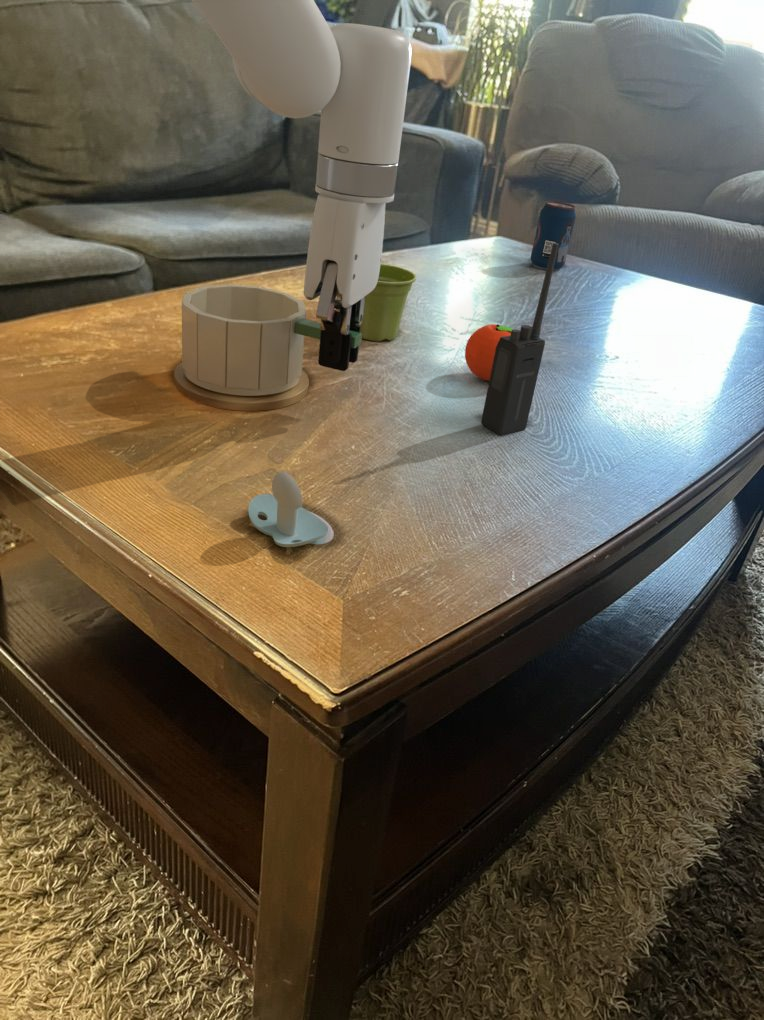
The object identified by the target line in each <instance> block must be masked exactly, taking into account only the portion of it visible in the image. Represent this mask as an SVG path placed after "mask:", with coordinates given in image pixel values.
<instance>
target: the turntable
mask: <svg viewBox="0 0 764 1020" xmlns="http://www.w3.org/2000/svg"><path fill="white" fill-rule="evenodd" d="M173 381H174V382H173V383H174V385H175V387H176V389H177V390H178V391H179V393H180V394H182V395H183V396H185V397H186V398H188V399H190V400H192V401H194V402H196V403H199V404H202V405H205V406H209V407H213V408H216V409H222V410H229V411H238V412H239V411H241V412H260V411H271V410H272V411H273V410H277V409H282V408H286V407H289V406H291V405H294V404H296V403H298V402H300V401H301V400H302V399H304V398H305V397H306V396H307V394H308V393H309V384H310V379H309V376H308V374H307V372H306V371H305V370H303V369H302V374H301V376H300V380H299V382H298V383H297V384H296V385H295V386H294V387H292V388H290V389H288V390H286V391H283V392H280V393H275V394H270V395H260V396H241V395H231V394H224V393H219V392H215V391H211V390H208V389H205V388H202V387H200V386H198V385H196V384H194V383H193V382H191V381H190V380H189V379H188V378H187V377H186V376H185V374H184V371H183V367H182V361H181V362H179V363H178V364H177V366H176V367H175V368H174V372H173Z"/></svg>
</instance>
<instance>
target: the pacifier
mask: <svg viewBox="0 0 764 1020" xmlns="http://www.w3.org/2000/svg"><path fill="white" fill-rule="evenodd" d="M271 490H272V493H263V494H262V493H261V494H259V495H255V497H253V498H252V499H251V500H250V502H249V504H248V508H247V509H248V518H249V521H250V522H251V525H253V527H254V528H255V529H257V530H258V531H259V532H261V533H263V534H264V535H266V536H270V537H271V538H272V539H273V542H274V543H275V545H276V546H279V547H280V548H281V547H282V548H295V547H301V546H305V545H308V544H309V545H323V544H327V543H330V542H331V541H332V540H333V538H334V537H335V536H334V534H335V532H334V529H333V527H332V526H331V525H330V523H329V522H328V521H326V519H324V518H323V517H321V516H319V515H317V514H316V513H314V512H312V511H309V510H308V509H306V508H305V507H303V503H304V500H303V494H302V491H301V489H300V487H299V485H298V483H297V482H296V480H295V479H294V478H293V476H292V475H290V474H289V473H288V472H286V471H284V470H283V471H279V472H277V473H276V474H275V475H274V477H273V479H272V483H271ZM259 516H263V517H265V518H266V519H265V520H264V519H261V518H260V517H259Z"/></svg>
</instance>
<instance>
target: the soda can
mask: <svg viewBox="0 0 764 1020" xmlns="http://www.w3.org/2000/svg"><path fill="white" fill-rule="evenodd" d="M576 219H577V215H576V206H575V205H574V204H571V203H567V202H562V201H553V200H547V201H545V204H544V205H543V206H542V208H541V209H540V212H539V216H538V221H537V225H536V231H535V235H534V239H533V244H532V248H531V253H530V261H531V264H532V267H534V268H536V269H540V270H545V271H546V270H547V266H548V262H549V258H550V254H551V250H552V246H553V243H558V244H559V245H558V249H557V254H556V259H555V263H554V268H553V272H556V271H557V272H558V271H560V270H561V269H562V268H563V266H564V265H565V264H566V260H567V257H568V253H569V248H570V244H571V240H572V237H573V232H574V228H575V227H574V226H575V224H576V223H575V222H576Z"/></svg>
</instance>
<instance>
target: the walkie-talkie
mask: <svg viewBox="0 0 764 1020" xmlns="http://www.w3.org/2000/svg"><path fill="white" fill-rule="evenodd" d="M558 245H559V244H558V243H553V246H552V250H551V254H550V258H549V262H548V266H547V270H545V275H544V279H543V283H542V287H541V290H540V293H539V294H540V295H539V298H538V302H537V306H536V311H535V315H534V320H533V323H532V326H531V325H528V324H521V327H520V329H514V328H512V329H513V330H512V331H511V336H505V337H500V340H499V342H498V344H497V346H496V350H495V355H494V360H493V365H492V370H491V375H490V380H489V381H488V385H487V390H486V396H485V401H484V405H483V410H482V415H481V421H480V424H481V425H482V426H484V427H485V428H487V429H489V430H490V431H492V432H494V433H495V434H497V435H499V436H500V437H502V436H504V435H508V434H509V435H510V434H513V433H517V432H520V431H525V430H527V429H526V428H527V425H528V420H529V416H530V411H531V408H532V402H533V400H534V399H533V398H534V394H535V390H536V386H537V381H538V377H539V371H540V368H541V363H542V358H543V354H544V350H545V345H546V340H545V339H542V338H541V337H540V336H541V331H542V323H543V318H544V315H545V309H546V305H547V300H548V296H549V291H550V286H551V283H552V282H551V281H552V276H553V272H554V271H553V268H554V263H555V259H556V254H557V249H558Z"/></svg>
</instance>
